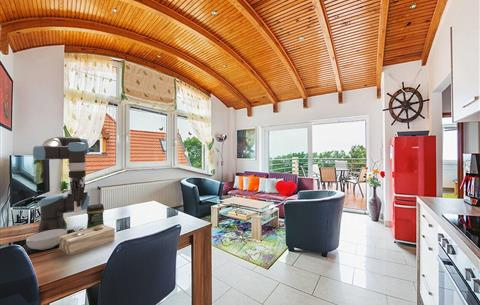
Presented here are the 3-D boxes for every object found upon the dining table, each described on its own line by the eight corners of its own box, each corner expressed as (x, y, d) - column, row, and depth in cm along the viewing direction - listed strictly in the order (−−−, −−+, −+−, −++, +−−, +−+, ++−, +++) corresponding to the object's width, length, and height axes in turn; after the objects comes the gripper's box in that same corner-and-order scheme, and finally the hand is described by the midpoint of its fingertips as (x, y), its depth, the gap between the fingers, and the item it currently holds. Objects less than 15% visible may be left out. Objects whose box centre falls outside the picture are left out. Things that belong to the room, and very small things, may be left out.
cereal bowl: (63, 237, 128) (63, 226, 128) (70, 245, 118) (70, 233, 118) (24, 247, 115) (24, 235, 115) (28, 257, 105) (27, 243, 105)
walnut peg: (92, 240, 123) (92, 228, 123) (99, 238, 126) (99, 226, 126) (95, 242, 121) (95, 230, 121) (103, 239, 124) (103, 228, 124)
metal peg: (72, 247, 114) (72, 234, 114) (80, 244, 117) (80, 232, 117) (75, 249, 112) (75, 236, 112) (84, 246, 115) (83, 233, 115)
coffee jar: (86, 236, 130) (86, 207, 130) (86, 232, 137) (85, 204, 136) (105, 232, 137) (104, 204, 136) (103, 228, 143) (103, 202, 143)
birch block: (59, 249, 113) (59, 236, 113) (102, 235, 132) (102, 224, 132) (70, 255, 106) (70, 242, 106) (114, 239, 125) (114, 228, 125)
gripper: (63, 170, 114) (64, 212, 115) (74, 171, 108) (75, 216, 108) (79, 169, 121) (80, 208, 121) (90, 170, 114) (91, 212, 115)
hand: (77, 212), depth 115 cm, fingers closed
